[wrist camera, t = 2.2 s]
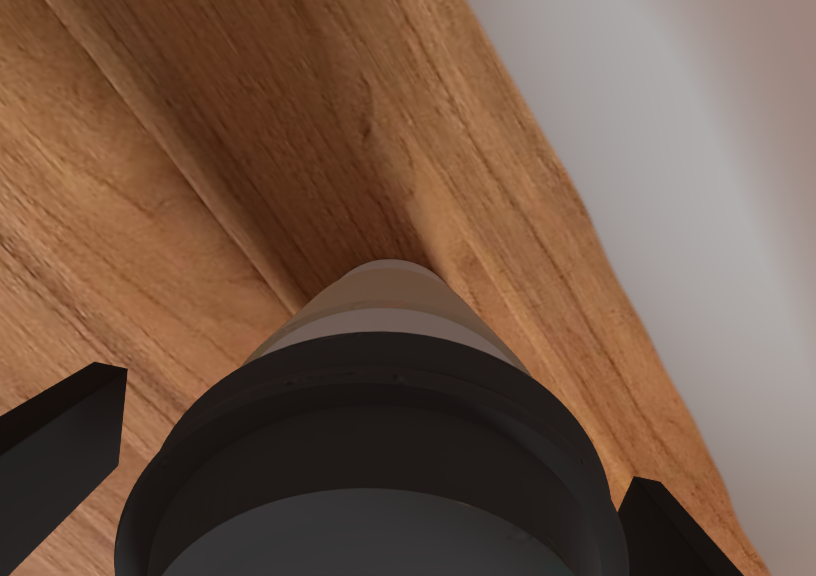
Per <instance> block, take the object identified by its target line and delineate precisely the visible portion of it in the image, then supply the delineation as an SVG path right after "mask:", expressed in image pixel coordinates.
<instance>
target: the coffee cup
mask: <svg viewBox="0 0 816 576" xmlns="http://www.w3.org/2000/svg"><path fill="white" fill-rule="evenodd" d="M114 568H115V576H629V556H628V548H627V543H626V538H625V534H624V530H623V527H622V524H621V521H620V518H619V516H618V513H617V511H616V509H615V507H614V504H613V502H612V500H611V495H610V490H609V485H608V481H607V478H606V474H605V471H604V468H603V466H602V463H601V461H600V458H599V456H598V454H597V452H596V450H595V448H594V446H593V444H592V442H591V440H590V439H589V437H588V435H587V434H586V432H585V431H584V429H583V428H582V426H581V425H580V424H579V422H578V421H577V420H576V418H575V417H574V416H573V415H572V413H571V412H570V411H569V410H568V409H567V408H566V407H565V406H564V405H563V404H562V402H560V401H559V400H558V399H557V398H556V397H555V396H554V395H553V394H552V393H551V392H550V391H549V390H547V389H546V388H545V387H544V386H542V385H541V384H540V383H539V382H537V381H536V380H535V379H533V378H532V376H531V375H530V373H529V372H528V370H527V369H526V367H525V366H524V365H523V363H522V362H521V361H520V360H519V359H518V357H517V356H516V355H515V354H514V353H513V352H512V351H511V350H510V349H509V348H508V347H507V346H506V345H505V344H504V343H503V341H502V340H501V339H500V338H499V337H498V336H497V335H496V334H495V333H494V332H493V331H492V330H491V329H490V328H489V327H488V326H487V325H486V323H485V322H484V321H483V320H482V319H481V318H480V317H479V316H478V315H477V314H476V313H475V312H474V311H473V310H472V309H471V308H470V306H469V305H468V304H467V303H466V302H465V301H464V300H463V299H462V298H461V297H460V296H459V295H458V294H456V293H455V292H454V291H453V290H452V289H450V288H449V287H448V286H447V285H446V284H445V283H444V282H443V281H442V280H441V279H440V278H439V277H438V276H437V275H436V274H434V273H433V272H431V271H430V270H428V269H427V268H425V267H423V266H420V265H418V264H415V263H413V262H409V261H405V260H398V259H383V260H376V261H371V262H368V263H365V264H362V265H360V266H358V267H356V268H354V269H352V270H351V271H349V272H348V273H347V274H345V275H344V276H343V277H342V278H341V279H340V280H338V281H336V282H334V283H332V284H331V285H329V286H328V287H327V288H325V289H324V290H323V291H321V292H320V293H319V294H318V295H317V296H316V297H315V298H313V299H312V300H311V301H310V302H309V303H308V304H307V305H305V306H304V307H303V308H302V309H301V310H300V311H299V312H298V313H296V314H295V315H294V316H293V317H292V318H291V319H290V320H289V321H287V322H286V323H285V324H284V325H283V326H282V327H281V328H280V329H278V330H277V331H276V332H275V333H274V334H273V335H272V336H270V337H269V338H268V339H267V340H266V341H265V342H264V343H263V344H261V345H260V346H259V347H258V348H257V349H256V350H255V351H254V352H253V353H252V354H251V355H250V357H249V358H248V359H247V360H246V361H245V362H244V364H243V365H242V366H241V367H240V368H239V369H237V370H235V371H234V372H232V373H231V374H229V375H228V376H226V377H225V378H223V379H222V380H220V381H219V382H218V383H216V384H215V385H214V386H212V387H211V388H210V389H209V390H208V391H207V392H206V393H204V394H203V395H202V396H201V397H200V398H199V399H198V400H197V401H196V402H195V403H194V404H193V405H192V406H191V407H190V408H189V409H188V410H187V411H186V412H185V413H184V415H183V416H182V417H181V419H180V420H179V421H178V422H177V424H176V425H175V426H174V428H173V429H172V431H171V432H170V434H169V435H168V437H167V439H166V440H165V442H164V444H163V446H162V447H161V449H160V451H159V452H158V453H157V454H156V456H155V457H154V458H153V459H152V460H151V462H150V463H149V464H148V465H147V467H146V468H145V469H144V471H143V472H142V474H141V475H140V477H139V478H138V480H137V482H136V483H135V485H134V487H133V489H132V491H131V493H130V494H129V497H128V499H127V501H126V503H125V506H124V509H123V511H122V514H121V517H120V521H119V525H118V529H117V534H116V541H115V552H114Z"/></svg>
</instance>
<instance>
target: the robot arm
mask: <svg viewBox="0 0 816 576" xmlns="http://www.w3.org/2000/svg"><path fill="white" fill-rule="evenodd" d="M127 371H128V369H126V368H122V367H117V366H112V365H108V364H103V363H98V362H93V363H92V364H90V365H88V366H86V367H85V368H83V369H81V370H79V371H78V372H76V373H74V374H73V375H71V376H69V377H67V378H66V379H64V380H62V381H61V382H59V383H57V384H55V385H54V386H52V387H50V388H48V389H47V390H45V391H43V392H42V393H40V394H38V395H36V396H35V397H33V398H31V399H30V400H28V401H26V402H24V403H23V404H21V405H19V406H17V407H16V408H14V409H12V410H11V411H9V412H7V413H5V414H4V415H2V416H0V576H9V575H10V574H11V573H12V572H13V571H14V570H15V569H16V568H17V567H18V566H19V565H20V564H21V563H22V562H23V561H24V560H25V559H26V558H27V556H28V555H29V554H30V553H31V552H32V551H33V550H34V549H35V548H36V547H37V546H38V545H39V544H40V543H41V542H42V541H43V540H44V539H45V538H46V537H47V536H48V535H49V534H50V533H51V532H52V531H53V530H54V529H55V528H56V527H57V526H58V525H59V524H60V523H61V522H62V521H63V520H64V519H65V518H66V517H67V516H68V515H69V514H70V513H71V512H72V511H73V510H74V509H75V508H76V507H77V506H78V505H79V504H80V503H81V502H82V501H83V500H84V499H85V498H86V497H87V496H88V495H89V494H90V493H91V492H92V491H93V490H94V489H95V488H96V487H97V486H98V485H99V484H100V483H101V482H102V481H103V480H104V479H105V478H106V477H107V476H108V475H109V474H110V473H111V472H112V471H113V470H114V469H115V468H116V467H117V466H118V463H119V453H120V443H121V433H122V422H123V412H124V402H125V392H126V381H127ZM617 513H618V516H619V518H620V521H621V524H622V527H623V530H624V534H625V538H626V543H627V548H628V556H629V576H743V574H742V573H741V572H740V571H739V570H738V569H737V568H736V567H735V565H734V564H733V563H732V562H731V561H730V560H729V559H728V558H727V556H726V555H725V554H724V553H723V552H722V551H721V550H720V549H719V547H718V546H717V545H716V544H715V543H714V542H713V541H712V539H711V538H710V537H709V536H708V535H707V534H706V533H705V532H704V530H703V529H702V528H701V527H700V526H699V525H698V524H697V523H696V521H695V520H694V519H693V518H692V517H691V516H690V515H689V514H688V512H687V511H686V510H685V509H684V508H683V507H682V506H681V505H680V503H679V502H678V501H677V500H676V499H675V498H674V497H673V496H672V494H671V493H670V492H669V491H668V490H667V489H666V488H665V487H664V485H663V484H662V483H661V482H659V481H654V480H650V479H645V478H640V477H635V476H634V477H633V479H632V481H631V484H630V486H629V488H628V490H627V492H626V495H625V497H624V499H623V501H622V503H621V506H620V508H619V510H618V512H617Z"/></svg>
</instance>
